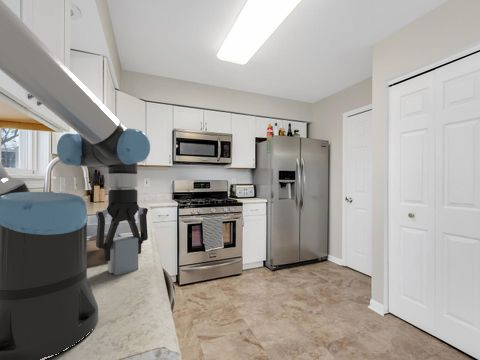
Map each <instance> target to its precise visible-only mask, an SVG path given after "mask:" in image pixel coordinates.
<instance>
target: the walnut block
mask: <svg viewBox="0 0 480 360" xmlns="http://www.w3.org/2000/svg"><path fill="white" fill-rule="evenodd" d="M122 236H123V235H121V237H122ZM114 238H116V237H114ZM105 240H106V239H104V243H105ZM103 264H108V261H105V260H104V249H99V248H98V247H97V246H96V240H95V241H89V242H87V268H90V267H94V266H98V265H103Z"/></svg>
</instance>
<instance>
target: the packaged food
mask: <svg viewBox="0 0 480 360" xmlns="http://www.w3.org/2000/svg"><path fill="white" fill-rule="evenodd" d="M107 234H108V231H104V239H106V237H107ZM121 236H122V235H121V234H120V233H118V232H116V233H115V236H114V237H121ZM96 238H97V232H95V233H94V234H92V235H91V236H90V237H89V238H87V242H89V241H95V240H96Z"/></svg>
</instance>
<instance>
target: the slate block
mask: <svg viewBox="0 0 480 360" xmlns="http://www.w3.org/2000/svg"><path fill="white" fill-rule="evenodd" d="M121 236H122V237H116V238H114V239H113V242H112V245H111V248H113V249H114V273H112V274H113V275H114V276H119V275H120V276H121V275H123V274H126V273H127V274H128V273H131V272H134V271H138V270H139V254H138V238H136V237H134V236H133V235H131V234H130V235H121Z"/></svg>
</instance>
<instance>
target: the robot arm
mask: <svg viewBox="0 0 480 360" xmlns="http://www.w3.org/2000/svg"><path fill="white" fill-rule="evenodd" d="M0 71H1V72H2V73H3V74H5V75H6V76H8V78H10V79H11V80H12V81H14V82H15V83H16V84H17V85H18V86H19V87H21V88H22V89H23V90H25V91H26V92H27V93H28V94H29V95H30V96H32V97H33V98H34V99H36V100H37V101H38V102H39V103H41V104H42V105H43V106H44V107H46V109H48V110H49V111H50V112H51V113H53V114H54V115H55V116H57V118H59V119H60V120H61V121H63V122H64V123H65V124H66V125H67V126H68V127H70V128H71V129H72V130H74V131H75V132H76V133H69V132H68V133H64V134H62V135H61V136H60V138H58V139H59V140H58V142H57V145H56V154H57V157H58V158H57V159H58V160H59V162H61V163H63V164H64V165H67V166H75V167H91V168H92V167H95V168H107V169H108V170H107V171H108V173H107V174H108V188H110V189H109V190H108V193H107V194H108V195H107V196H108V205H107V208H106V209H103V210H101V211H96V212H95V217H96V218H97V226H96V230H97V231H96V233H97V238H96V246H97V247H98V248H99V249H104V260H105V261H108V263H107V272H108V273H110V274H113V273H114V249H113V248H111V245H112V242H113V239H114V236H115V233H117V229H118V226H119V225H120V223H122V222H124V221H127V223H128V225H129V228H130V231H131V234H132V236H134V237H136V238H138V255H140V254H142V245H143V243H144V242H145V241H147V240H148V238H149V236H148V220H147V215H148V211H149V209H148V207H141V206H140V205H139V204H138V190H137V189H136V188H138V163H142V162H144V161H145V160H146V159H148V157H149V155H150V152H151V142H150V140H149V137H148V136H147V134H145V133H144V131H142V130H140V129H137V128H127V127H126V126H125V125H124V124H123V123H122V121H120V120H119V119H118V118H117V116H116V115H114V113H112V112H111V110H110V109H108V107H106V105H104V104H103V102H102V101H101V100H100V99H99V98H98V97H97V96H96V95H95V94H94V93H93V92H92V91H91V90H90V89H89V88H88V87H87V86H86V85H85V84H84V83H83V82H82V81H81V80H80V78H78V77H77V76H76V75H75V74H74V73H73V72H72V70H70V68H68V67H67V66H66V64H65V63H63V61H62V60H61V59H60V58H59V57H58V56H57V55H56V54H55V53H54V52H53V51H52V50H51V49H50V48H49V47H48V45H46V44H45V42H43V41H42V40H41V39H40V37H38V36H37V35H36V33H34V32H33V31H32V29H30V28H29V26H28V25H27V24H26V23H24V22H23V20H22V19H21V18H20V17H19V16H18V14H16V13H15V12H14V11H13V10H12V9H11V8H10V7H9V6H8V5H7V4H6V3H5V2H4V1H3V0H0ZM137 212H138V214H139V215H138V216H139V218H138V219H139V227H138V225H137V221H136V217H135V215H136V214H137ZM108 215H109V216H110V217H111V221H110V226H109V229H108V231H107V232H108V234H107V237H106V240H105V243H104V232H106V231H105V229H106V228H105V227H106V218H107V216H108ZM88 221H89V216H88V210H87V203H86V200H85V199H84V198H83V197H81V196H80V195H76V194H74V193H68V192H67V193H66V192H54V191H30V190H29V187H28V186H27V184H26V182H25V181H24V180H21V179H19V178H15V177H12V176H11V175H9V174H8V172H7V171H6V169H5V167H4V164H2V162H1V161H0V360H40V359H42V358H44V357H48V356H51V355H55V354H58V353H60V352H62V351H63V350H65V349H66V348H68V347H70V346H72V345H74V344H75V343H76V342H78V341H79V340H81V339H82V338H83V337H85V336H86V335H87V334H88V333H89V332H91V331H92V329H94V330H95V328H96V327H97V325H98V322H99V304H98V303H97V300H96V298H95V295H94V292H93V290H92V288H91V286H90V284H89V280H88V278H87V277H88V276H87V275H88V273H87V271H88V270H87V268H88V267H87V240H88ZM95 326H96V327H95ZM94 327H95V328H94ZM92 332H93V331H92ZM92 332H91V333H92ZM74 346H75V345H74ZM62 353H63V352H62ZM60 354H61V353H60ZM58 355H59V354H58Z"/></svg>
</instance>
